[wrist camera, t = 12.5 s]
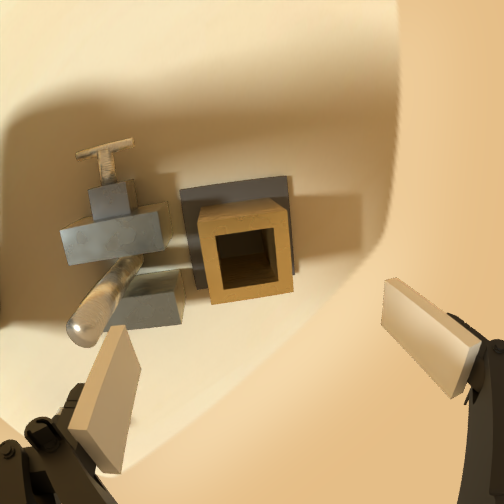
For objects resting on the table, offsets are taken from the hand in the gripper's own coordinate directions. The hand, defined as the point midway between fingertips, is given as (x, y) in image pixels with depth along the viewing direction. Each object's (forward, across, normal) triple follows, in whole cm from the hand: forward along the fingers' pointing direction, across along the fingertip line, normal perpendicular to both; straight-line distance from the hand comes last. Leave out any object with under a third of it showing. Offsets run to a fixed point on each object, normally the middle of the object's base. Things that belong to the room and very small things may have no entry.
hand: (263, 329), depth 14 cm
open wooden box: (+19, +1, 0) cm, 19 cm away
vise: (+20, -11, +2) cm, 23 cm away
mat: (+19, +1, 0) cm, 19 cm away
